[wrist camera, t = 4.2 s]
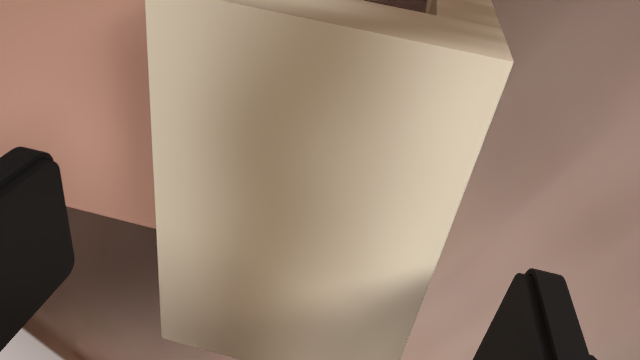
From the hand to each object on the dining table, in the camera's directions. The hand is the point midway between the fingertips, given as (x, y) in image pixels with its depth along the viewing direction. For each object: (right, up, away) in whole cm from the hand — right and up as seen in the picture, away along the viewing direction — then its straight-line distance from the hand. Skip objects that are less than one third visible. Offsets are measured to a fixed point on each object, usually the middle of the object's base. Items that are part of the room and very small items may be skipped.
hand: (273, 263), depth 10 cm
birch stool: (+2, +5, +7) cm, 9 cm away
